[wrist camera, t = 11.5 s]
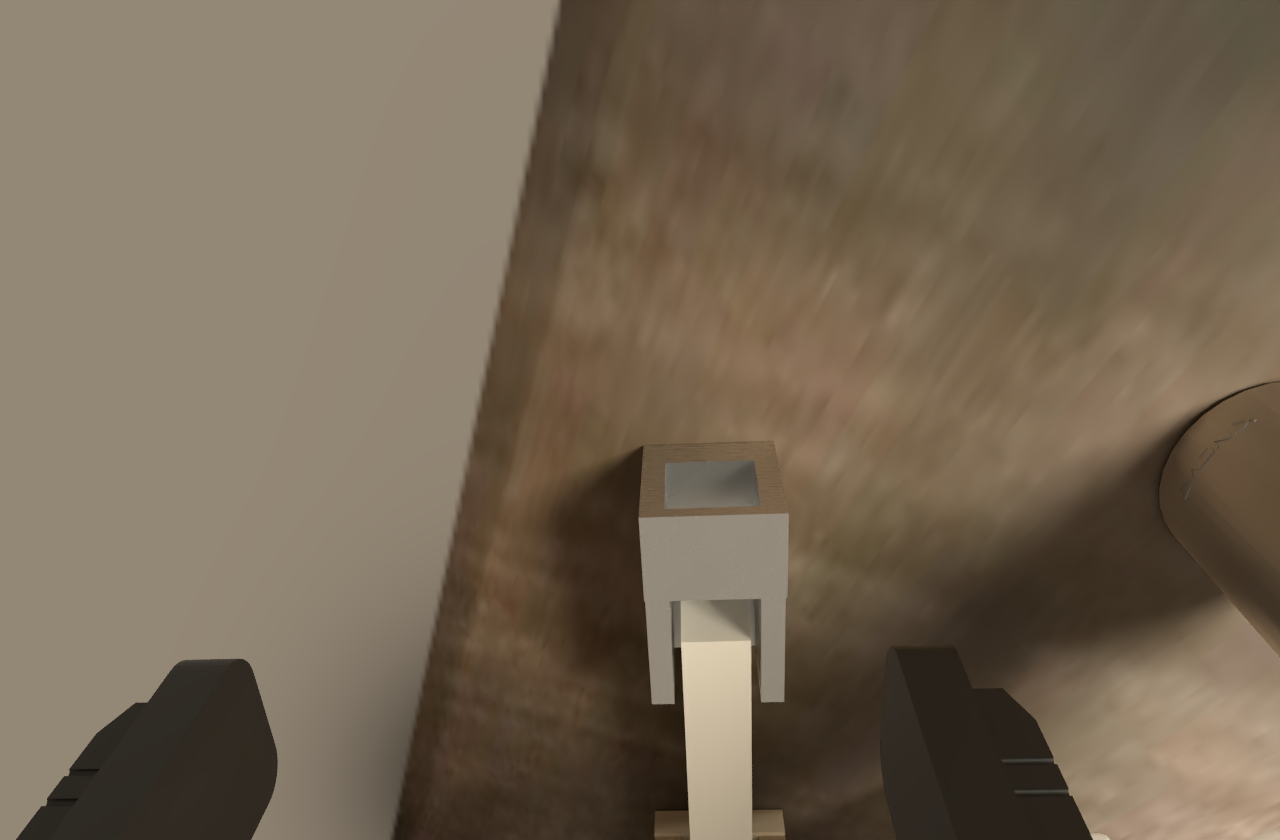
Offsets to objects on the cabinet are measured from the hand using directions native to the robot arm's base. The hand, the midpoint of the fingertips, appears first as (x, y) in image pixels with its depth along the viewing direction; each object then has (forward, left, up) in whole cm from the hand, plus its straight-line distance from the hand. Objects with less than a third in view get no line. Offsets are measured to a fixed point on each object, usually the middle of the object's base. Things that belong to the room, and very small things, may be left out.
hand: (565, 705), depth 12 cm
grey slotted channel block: (-10, +12, -28) cm, 32 cm away
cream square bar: (-15, +22, -26) cm, 37 cm away
